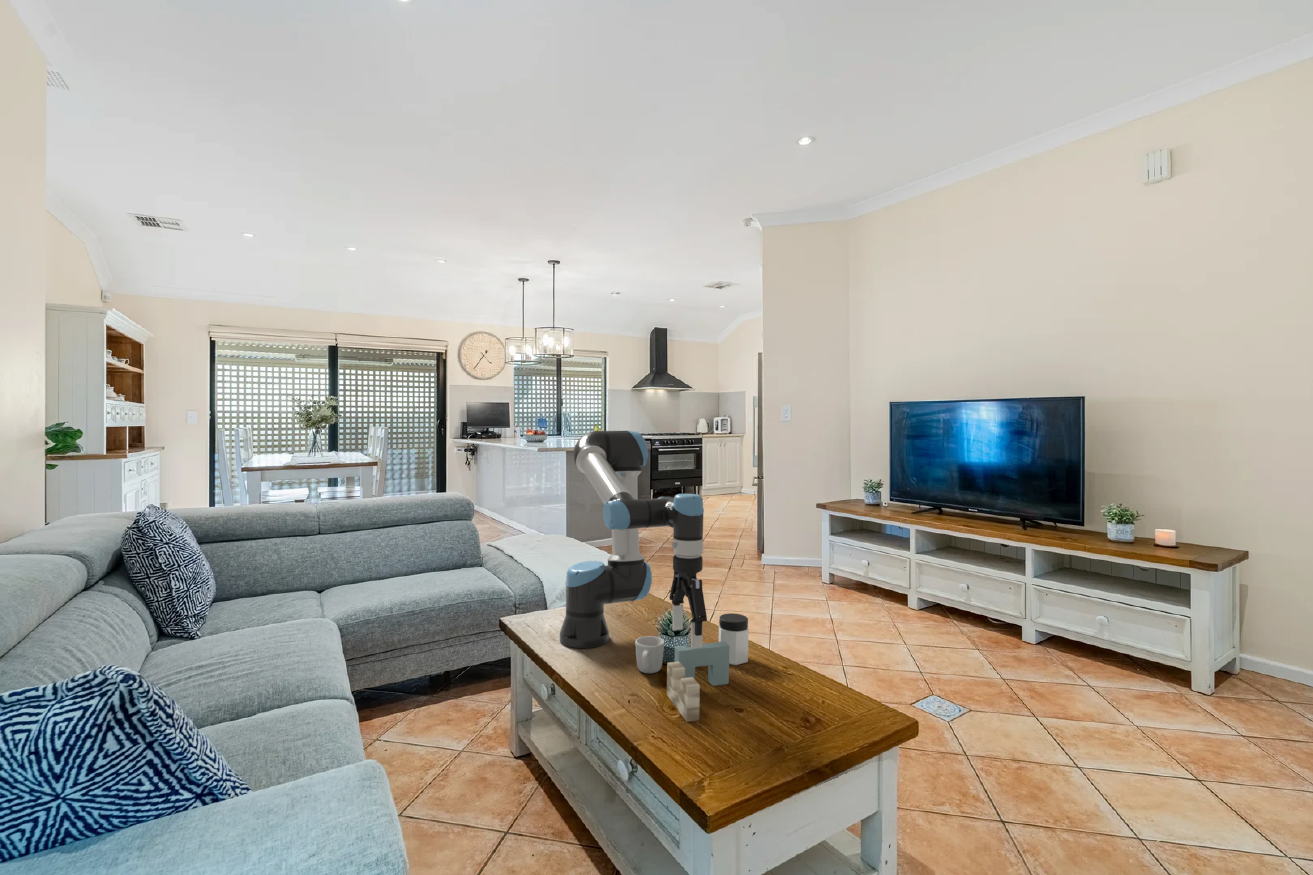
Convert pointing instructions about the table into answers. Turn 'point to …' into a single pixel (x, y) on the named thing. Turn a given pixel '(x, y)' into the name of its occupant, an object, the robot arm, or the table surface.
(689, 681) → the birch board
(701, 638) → the robot arm
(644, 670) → the cup
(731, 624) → the jar
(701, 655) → the teal board
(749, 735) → the table surface
